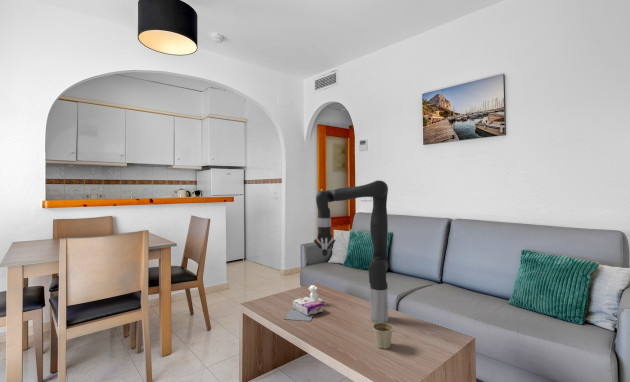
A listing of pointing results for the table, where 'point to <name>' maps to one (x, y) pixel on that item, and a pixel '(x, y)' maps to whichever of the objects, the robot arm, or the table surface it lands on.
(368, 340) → the table surface
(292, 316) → the mat
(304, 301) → the candy bar box
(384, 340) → the flower pot
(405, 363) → the table surface
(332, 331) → the table surface
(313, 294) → the white creature statuette
